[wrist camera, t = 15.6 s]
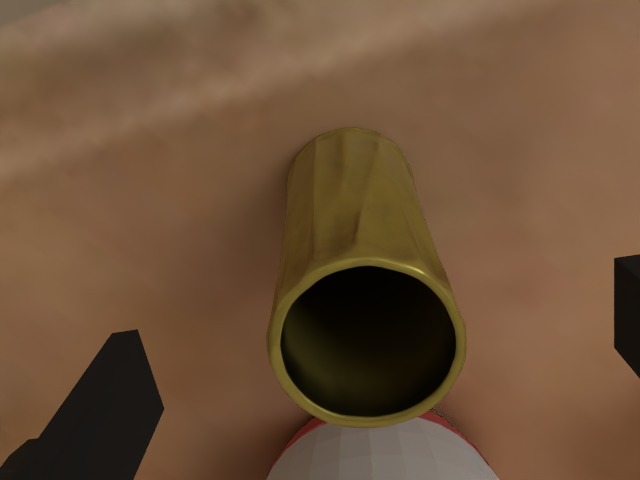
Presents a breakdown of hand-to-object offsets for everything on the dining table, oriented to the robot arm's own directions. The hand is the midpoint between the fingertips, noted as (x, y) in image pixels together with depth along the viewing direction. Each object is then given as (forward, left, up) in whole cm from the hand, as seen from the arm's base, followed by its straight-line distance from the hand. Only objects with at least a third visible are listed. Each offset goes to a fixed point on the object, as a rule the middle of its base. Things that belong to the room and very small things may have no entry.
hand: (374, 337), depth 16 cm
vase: (0, 0, -13) cm, 13 cm away
